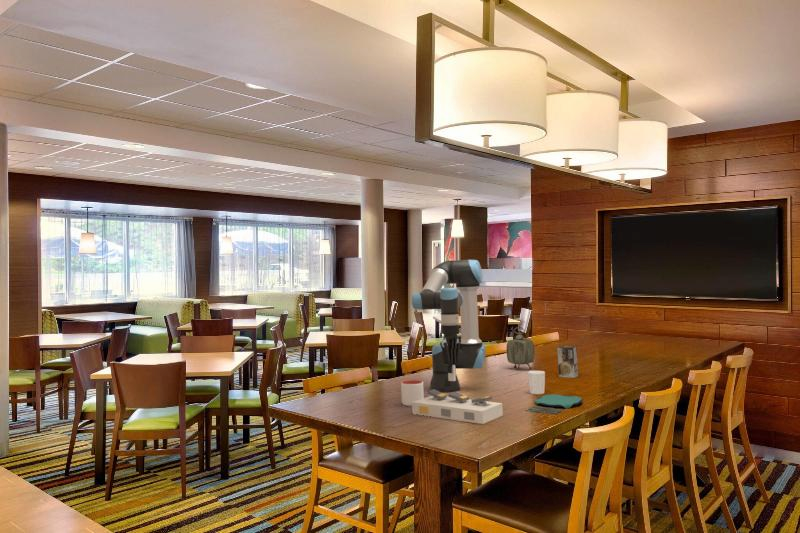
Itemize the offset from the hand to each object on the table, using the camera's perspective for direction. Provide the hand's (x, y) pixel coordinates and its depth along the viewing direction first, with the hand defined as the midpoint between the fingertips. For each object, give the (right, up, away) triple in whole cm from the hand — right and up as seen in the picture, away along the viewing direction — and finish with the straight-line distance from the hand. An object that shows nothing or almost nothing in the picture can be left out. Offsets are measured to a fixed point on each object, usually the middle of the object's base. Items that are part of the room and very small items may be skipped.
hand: (452, 380), depth 256 cm
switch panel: (+2, -14, -3) cm, 14 cm away
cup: (-16, -15, +19) cm, 29 cm away
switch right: (+11, -6, -8) cm, 15 cm away
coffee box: (+69, -12, +73) cm, 102 cm away
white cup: (+43, -13, +34) cm, 57 cm away
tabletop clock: (+49, -13, +101) cm, 113 cm away
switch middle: (+3, -7, -2) cm, 7 cm away
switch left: (-6, -7, +5) cm, 10 cm away
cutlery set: (+44, -13, +7) cm, 47 cm away
